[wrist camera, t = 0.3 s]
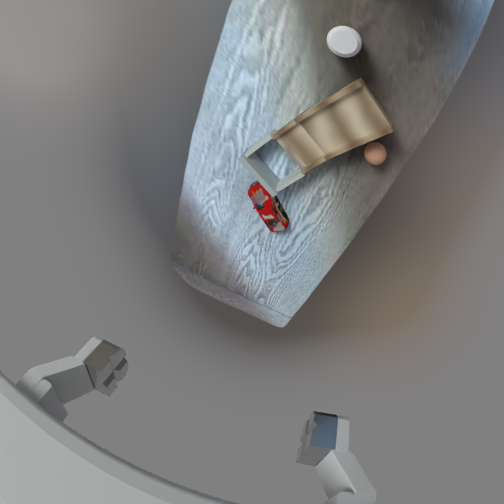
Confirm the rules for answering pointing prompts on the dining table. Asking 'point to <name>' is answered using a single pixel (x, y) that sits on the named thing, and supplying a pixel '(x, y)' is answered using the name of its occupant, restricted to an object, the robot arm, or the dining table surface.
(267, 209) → the race car
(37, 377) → the robot arm
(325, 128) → the ramp
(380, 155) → the ball
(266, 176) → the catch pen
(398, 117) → the dining table surface
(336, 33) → the supplement bottle
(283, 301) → the dining table surface
